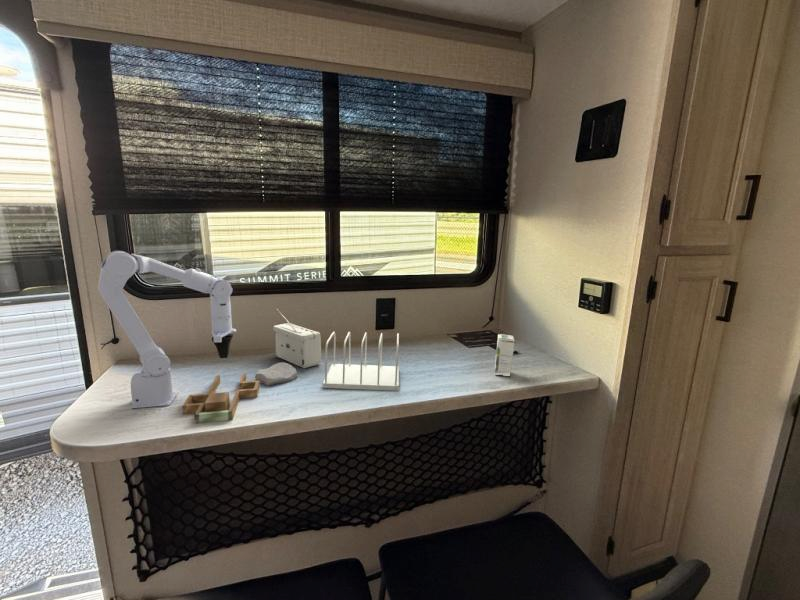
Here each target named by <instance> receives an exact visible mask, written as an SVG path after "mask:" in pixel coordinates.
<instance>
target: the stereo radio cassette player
mask: <svg viewBox="0 0 800 600" xmlns="http://www.w3.org/2000/svg"><path fill="white" fill-rule="evenodd" d="M276 311H278V313H280V316H282V318H283V319H284V320H285V321H286V322H287V323H286V322H285V323H281V324H276V325H275V324H274V326H273V327H272V329H273V331H274V335H275V338H274V339H275V354H276V357H277V358H280V359H282V360H285V361H287V362H289V363H292V364H293V365H295V366H298V367H300V368H303V369H306V368H307V369H308V368H311V367H313V366H317V365H318V364H320V363H321V358H322V357H321V356H322V341H321V340H322V339H321V338H322V337H321V336H322V335H321V333H320V332H319V331H315V330H312V329H309V328H306V327H303V326H299V325H296V324H294V323H290V322H289V320H288V319H287V318H286V317H285V316H284V315H283V314H282V313H281V312H280V311H279V309H278V308H276Z"/></svg>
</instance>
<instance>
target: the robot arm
mask: <svg viewBox="0 0 800 600" xmlns="http://www.w3.org/2000/svg"><path fill="white" fill-rule="evenodd" d="M136 273H138V274H144V273H155V274H157V275H162V276H165V277H168V278H171V279H175V280H178V281H180V282H181V283H182V286H183V287H184V288H188V289H191V290H194V291H198V292H201V293H204V294H209V298H210V300H209V301H210V302H209V305H210V318H211V334H212V336H213V337H212V338H211V342H212V343H213V344H214V346H215V347H216V350H217V353H218V355H219V358H220V359H228V357H229V354H230V348H231V347H230V346H231V342H232V340H233V337H234V334H233V333H236V332H237V329H236V328H233V322H232V321H233V320H232V304H231V303H232V302H231V295H232V293H233V291H234V290H233V288H234V287H233V288H232V284H231V283H230V282H229V281H227V280H225V279H222V278H220V276H219V277H218V275H216V274H212V275H211V274H208V273H206V272H203V271H202V269H200V268H198V267H196V268H195V269H194V268H191V267H190V268H188V269H185V270H183V269H181V268H178V267H175V266H173V265H170V264H167V263H165V262H162V261H160V260H157V259H154V258H151V257H147V256H144V255H140V254H136V253H131V254H130V253H128V252H126V251H123V250H114V251H110V252H109V253H108V254H107V255H106V256H105V258H104V259H103V261H102V262H101V265H100V271H99V278H98V283H97V291H98V293H99V295H100V296H101V298H102V300H103V301H104V302H105V304H106V306H107V307H108V309H109V310H110V311H111V313H112V314H113V316H114V317H115V319H116V321H117V322H118V324H119V325H120V327H121V328H122V330H123V331H124V334H126V336H127V337H128V339H129V340H130V342H131V343H132V345H133V346H134V348H135V350H136V351H137V353H138V355H139V361H140V363H141V364H142V366H143V368H142V369H141V371H140V372H136V373H134V374H133V375H132V377H131V379H130V394H131V403H132V406H131V409H140V408H151V407H152V408H153V407H163V406H165V407H166V406H169V405H171V403H172V402H173V401H174V399H175V398H176V397H177V395H178V394H179V392H178V391H175V392H174V391H173V382H172V372H171V370H172V369H171V360H170V358H169V357H168V356H167V355H166V353H165V350H163V348H162V347H159V346H158V345H156V343H155V341H154V340H153V339H152V337H151V335H150V334H149V332H148V331H147V329H146V327H145V326H144V324H143V322H142V321H141V319H140V318H139V316H138V315H137V313H136V311H135V310H134V308H133V306H132V305H131V304H130V302H129V300H128V298H127V296H125V294H124V292H123V290H124V287H125V286H126V284H127V281H128V280H129V279H130V278H131V277H132V276H133V275H134V274H136Z"/></svg>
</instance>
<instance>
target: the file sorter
mask: <svg viewBox="0 0 800 600" xmlns="http://www.w3.org/2000/svg"><path fill="white" fill-rule="evenodd" d="M383 337H384V335H383V332H381V333H380V336H379V340H378V347H377V348H378V351H377V365H375V364H374V365H371V364H370V365H369V364H367V350H368V348H367V347H368V345H367V344H368V332H364V335H363V338H362V340H361V346H360V364H352V363H351V346H352V345H351V342H352V340H351V338H352V337H351V331H348V332H347V335H346V336H345V339H344V342H343V356H342V359H343V360H342V363H336V339H337V337H336V332H335V331H333V332H332V333H331V334H330V336H329V338H328V339H327V340H326V343H325V350H324V354H325V355H324V380H323V382H322V384H321V385H322V386H321V387H322V389H346V390H366V391H367V390H369V391H371V390H373V391H399V390H400V387H399V386H400V367H399V348H400V343H399V342H400V340H399V339H400V333H399V332H398V333H397V334H396V352H395V365H382V363H383V362H382V361H383V341H384V340H383ZM332 338H333V363H331V365H330V367H329V369H328V345H329V343H330V341H331V339H332ZM347 341H348V364H346V345H347ZM364 344H365V345H364ZM363 348H364V349H363ZM363 352H364V355H363ZM363 357H364V364H363Z"/></svg>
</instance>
